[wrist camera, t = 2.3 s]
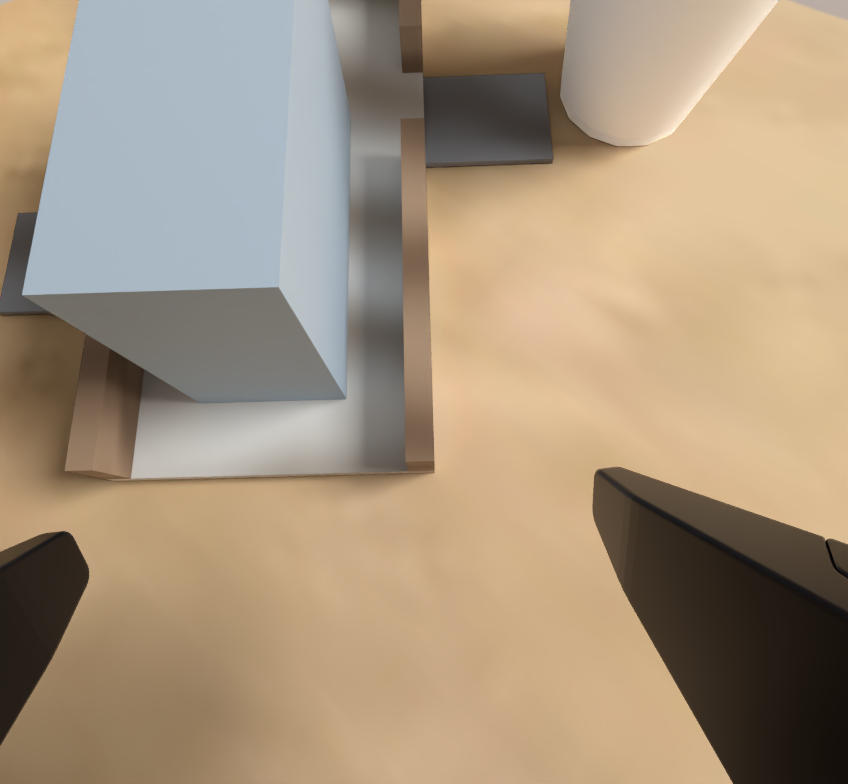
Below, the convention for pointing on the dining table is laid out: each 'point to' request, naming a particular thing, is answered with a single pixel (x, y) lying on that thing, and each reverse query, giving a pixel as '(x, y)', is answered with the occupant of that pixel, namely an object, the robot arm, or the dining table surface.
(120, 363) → the lane
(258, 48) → the slate box
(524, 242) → the dining table surface
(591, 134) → the foam cup
